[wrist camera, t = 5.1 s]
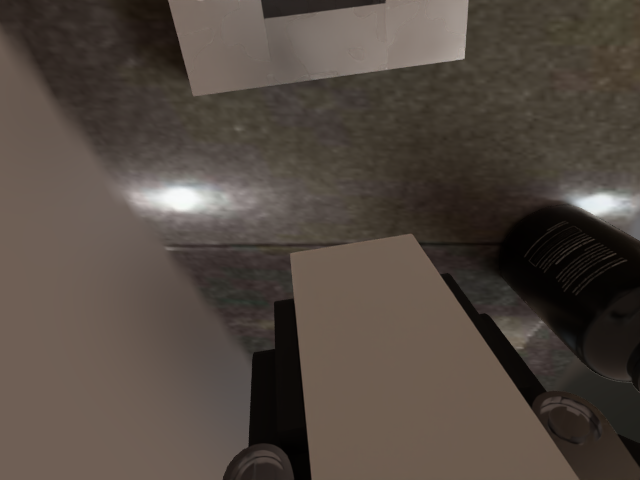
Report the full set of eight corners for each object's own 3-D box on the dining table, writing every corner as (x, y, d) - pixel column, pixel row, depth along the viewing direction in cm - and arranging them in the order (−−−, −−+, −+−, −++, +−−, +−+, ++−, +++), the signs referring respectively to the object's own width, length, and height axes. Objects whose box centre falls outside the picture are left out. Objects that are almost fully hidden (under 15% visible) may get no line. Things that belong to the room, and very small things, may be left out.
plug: (290, 253, 11) (316, 532, 5) (412, 233, 11) (580, 481, 5) (309, 362, 13) (345, 645, 7) (411, 344, 13) (527, 606, 7)
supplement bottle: (494, 296, 28) (627, 455, 18) (496, 215, 25) (662, 351, 14) (585, 274, 28) (771, 420, 18) (599, 190, 25) (840, 308, 14)
